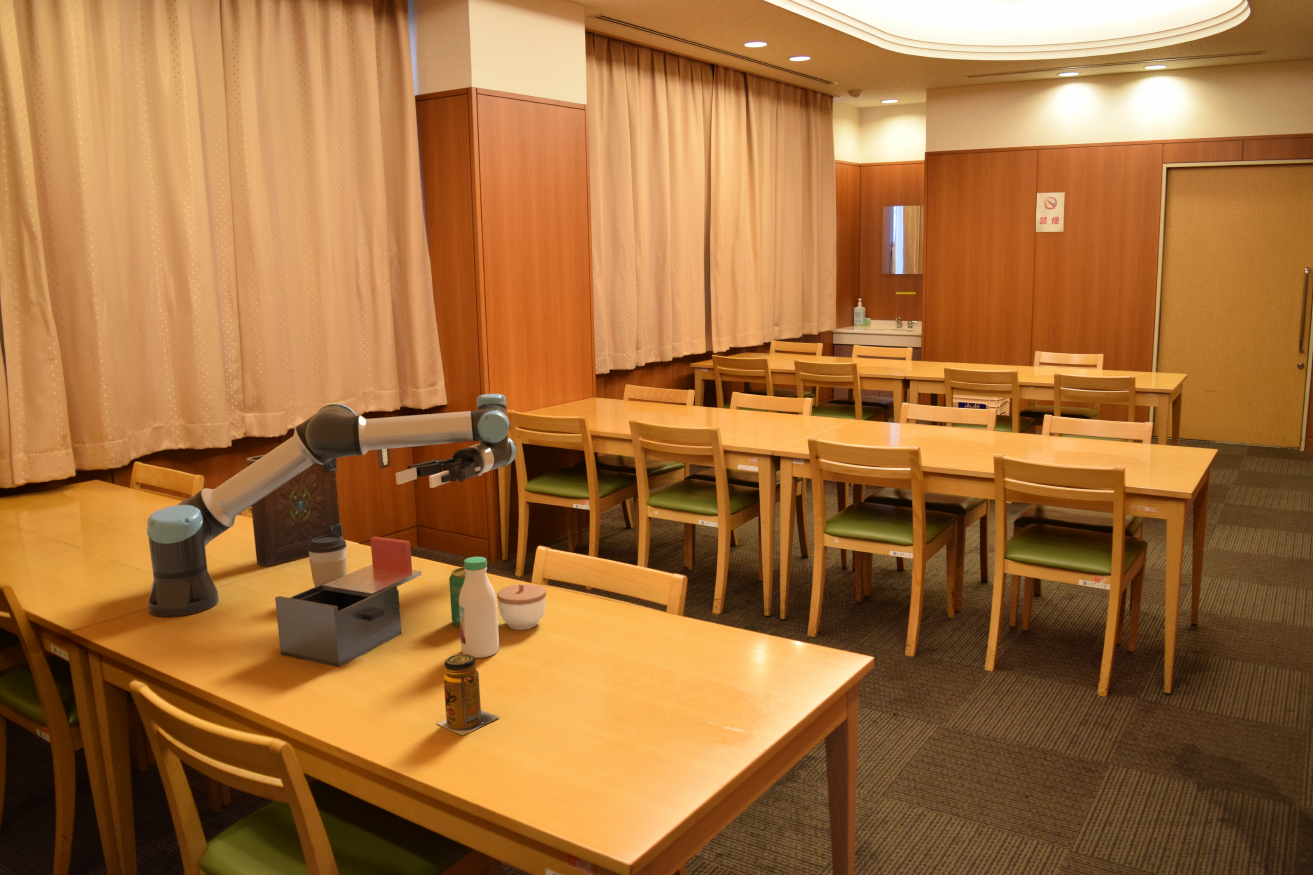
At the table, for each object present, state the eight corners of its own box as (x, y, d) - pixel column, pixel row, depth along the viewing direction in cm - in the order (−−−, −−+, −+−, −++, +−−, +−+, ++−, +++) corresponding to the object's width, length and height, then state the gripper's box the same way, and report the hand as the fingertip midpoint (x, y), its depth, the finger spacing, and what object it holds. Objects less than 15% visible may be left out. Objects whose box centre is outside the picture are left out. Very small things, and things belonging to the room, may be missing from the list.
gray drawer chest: (337, 621, 220) (333, 568, 218) (410, 635, 211) (406, 580, 209) (272, 652, 203) (266, 595, 201) (348, 668, 194) (343, 609, 192)
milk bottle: (505, 646, 204) (501, 555, 200) (487, 660, 197) (482, 566, 193) (473, 642, 206) (468, 552, 203) (454, 656, 199) (448, 563, 196)
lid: (373, 567, 225) (370, 534, 223) (421, 575, 219) (419, 541, 217) (322, 589, 211) (319, 554, 209) (372, 597, 205) (369, 561, 203)
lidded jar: (538, 635, 210) (536, 593, 208) (491, 632, 212) (489, 591, 210) (553, 617, 220) (551, 577, 218) (508, 614, 222) (506, 575, 220)
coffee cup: (338, 603, 232) (333, 543, 229) (304, 601, 234) (298, 541, 231) (357, 591, 240) (352, 532, 238) (324, 589, 242) (319, 531, 240)
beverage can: (495, 618, 220) (492, 568, 218) (474, 631, 213) (471, 578, 211) (466, 613, 223) (463, 564, 221) (444, 626, 216) (441, 574, 214)
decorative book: (330, 543, 282) (321, 442, 276) (343, 548, 277) (335, 445, 272) (252, 563, 264) (241, 456, 259) (266, 568, 260) (255, 459, 254)
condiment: (436, 724, 170) (432, 660, 168) (474, 706, 177) (470, 644, 175) (462, 736, 166) (458, 670, 164) (500, 718, 172) (497, 654, 170)
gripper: (508, 479, 241) (452, 500, 221) (438, 472, 250) (378, 492, 231) (507, 449, 240) (450, 468, 220) (436, 444, 249) (376, 461, 229)
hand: (413, 480), depth 225 cm, fingers open, 9 cm apart
